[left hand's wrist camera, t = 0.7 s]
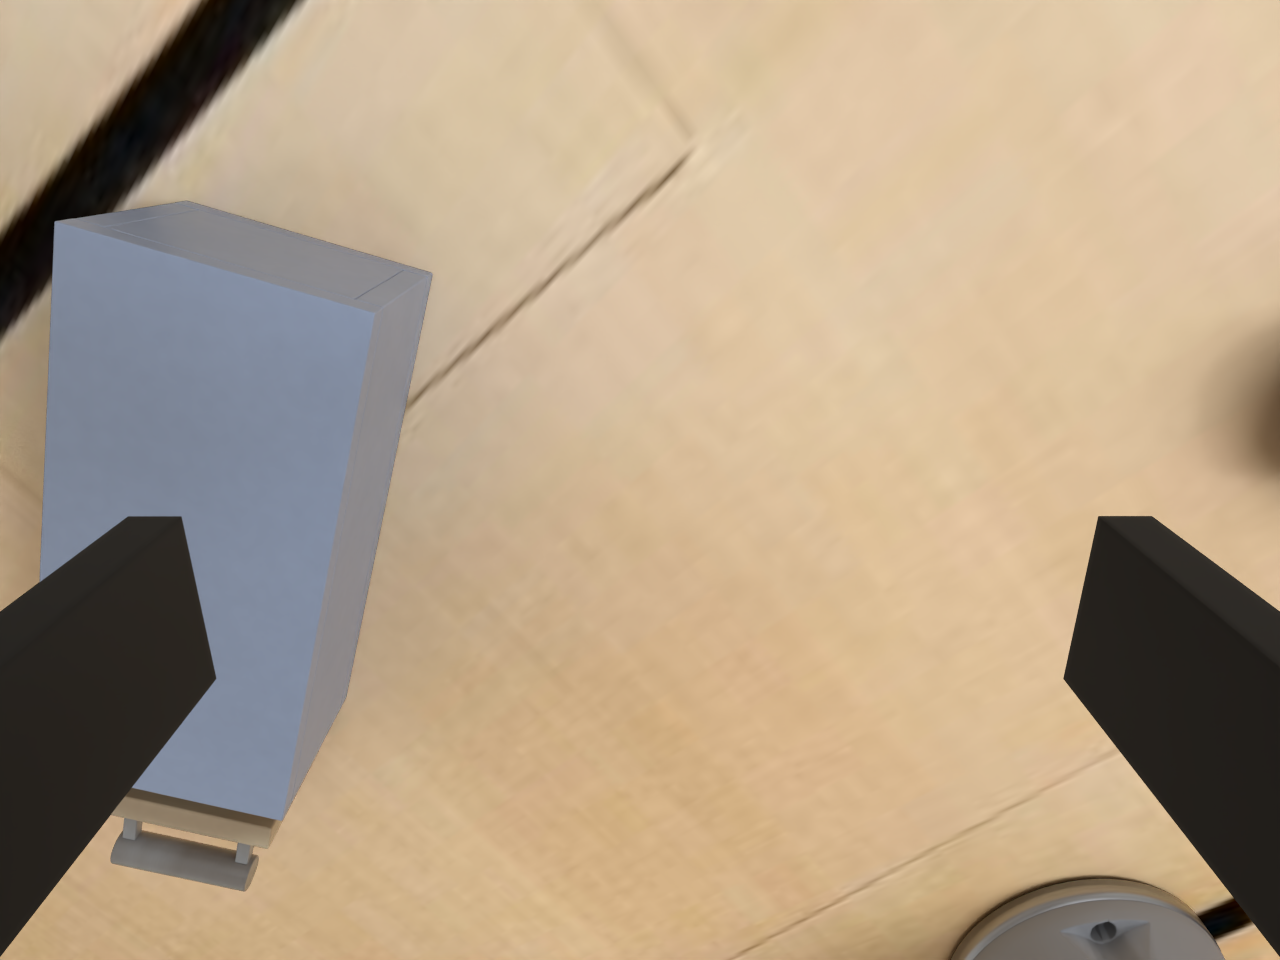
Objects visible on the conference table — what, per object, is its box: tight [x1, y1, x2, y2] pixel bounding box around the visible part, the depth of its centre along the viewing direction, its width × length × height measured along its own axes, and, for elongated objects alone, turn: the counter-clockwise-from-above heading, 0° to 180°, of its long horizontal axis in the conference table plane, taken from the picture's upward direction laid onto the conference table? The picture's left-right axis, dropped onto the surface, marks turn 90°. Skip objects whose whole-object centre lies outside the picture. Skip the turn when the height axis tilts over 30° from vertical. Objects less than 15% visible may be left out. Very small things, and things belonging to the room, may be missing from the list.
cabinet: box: [40, 201, 432, 821], centre depth 35 cm, size 22×10×8 cm, turn 164°
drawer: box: [111, 751, 319, 891], centre depth 37 cm, size 26×9×6 cm, turn 164°
